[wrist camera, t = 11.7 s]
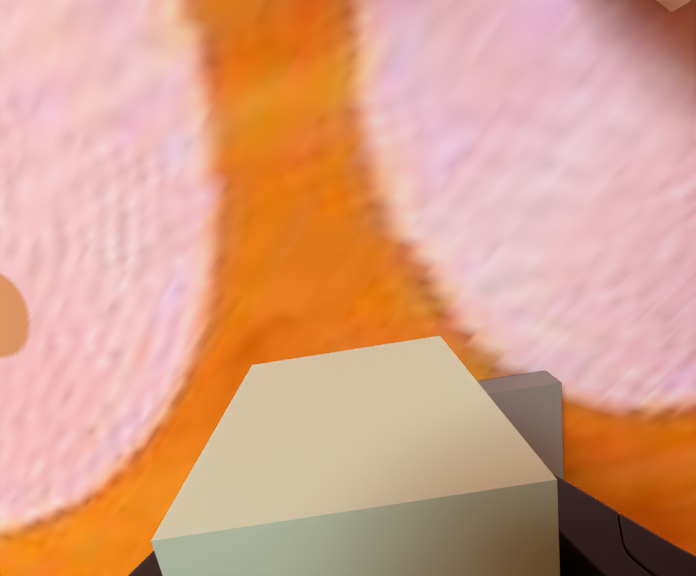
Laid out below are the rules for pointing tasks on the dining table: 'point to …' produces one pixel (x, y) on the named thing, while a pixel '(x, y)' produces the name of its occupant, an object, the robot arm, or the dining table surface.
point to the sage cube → (364, 476)
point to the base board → (533, 412)
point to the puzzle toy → (672, 4)
